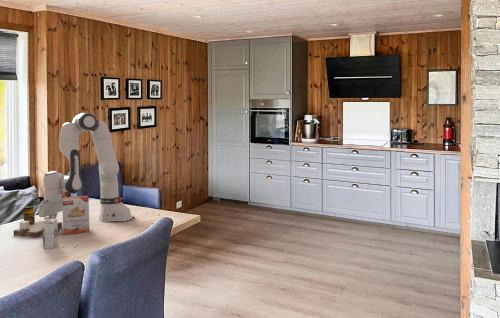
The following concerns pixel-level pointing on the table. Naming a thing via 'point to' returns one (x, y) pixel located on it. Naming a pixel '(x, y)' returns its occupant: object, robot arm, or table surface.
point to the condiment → (29, 214)
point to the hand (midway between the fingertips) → (53, 221)
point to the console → (33, 230)
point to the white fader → (24, 224)
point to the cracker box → (75, 214)
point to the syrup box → (50, 233)
